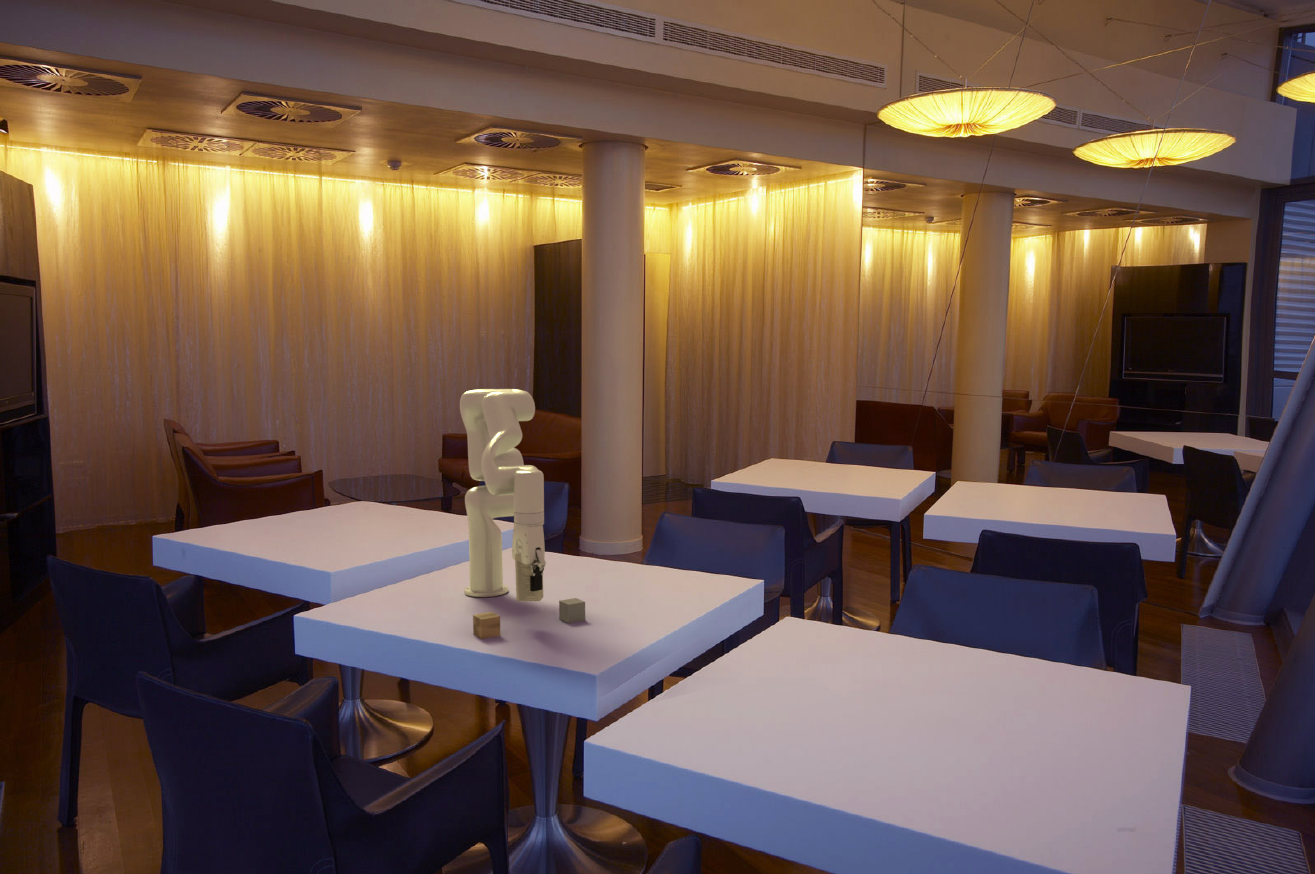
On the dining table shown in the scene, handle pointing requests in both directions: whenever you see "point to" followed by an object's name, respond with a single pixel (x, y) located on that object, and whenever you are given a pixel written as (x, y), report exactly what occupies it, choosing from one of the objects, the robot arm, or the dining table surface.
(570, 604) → the grayish brown block
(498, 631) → the walnut block
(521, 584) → the skincare box
